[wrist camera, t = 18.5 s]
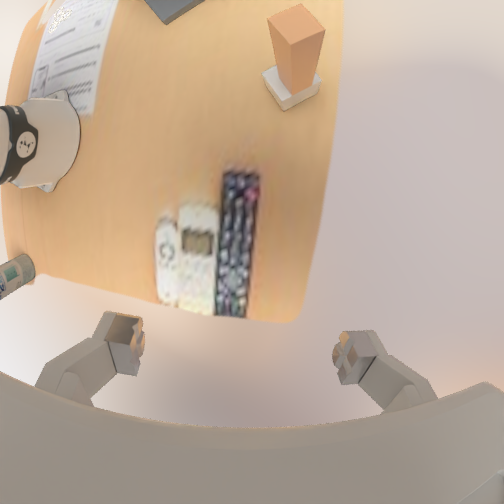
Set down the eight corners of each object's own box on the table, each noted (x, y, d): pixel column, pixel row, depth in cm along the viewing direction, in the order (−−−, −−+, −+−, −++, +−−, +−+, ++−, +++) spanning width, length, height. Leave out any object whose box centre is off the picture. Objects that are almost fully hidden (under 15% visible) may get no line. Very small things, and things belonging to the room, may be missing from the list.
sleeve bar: (341, 23, 11) (303, -16, 10) (272, 54, 13) (236, 13, 12) (317, 93, 30) (299, 69, 29) (283, 111, 31) (266, 87, 30)
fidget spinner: (50, 36, 29) (47, 35, 28) (49, 19, 28) (46, 19, 27) (73, 14, 27) (71, 13, 27) (71, -1, 26) (69, -2, 25)
